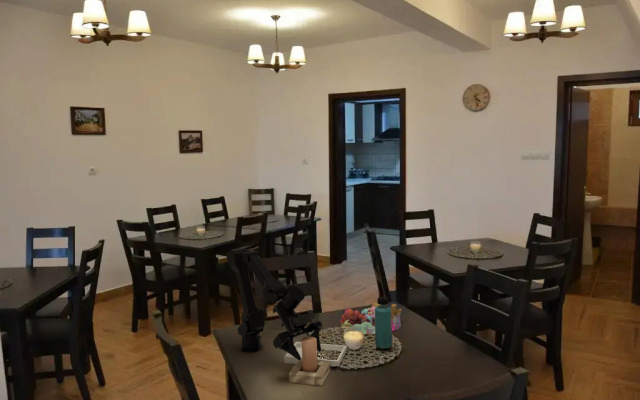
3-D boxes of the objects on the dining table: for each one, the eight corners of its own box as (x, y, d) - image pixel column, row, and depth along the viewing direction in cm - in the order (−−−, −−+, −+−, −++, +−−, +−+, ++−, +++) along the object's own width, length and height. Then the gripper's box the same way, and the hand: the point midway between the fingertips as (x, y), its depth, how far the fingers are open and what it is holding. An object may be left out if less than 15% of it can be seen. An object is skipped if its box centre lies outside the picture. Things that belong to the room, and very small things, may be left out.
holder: (289, 382, 168) (288, 373, 167) (299, 367, 178) (299, 359, 178) (321, 385, 165) (321, 377, 164) (330, 370, 175) (329, 362, 175)
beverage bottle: (391, 352, 189) (391, 300, 187) (374, 351, 190) (373, 300, 188) (392, 345, 195) (392, 295, 193) (375, 344, 197) (374, 294, 194)
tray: (284, 363, 182) (284, 356, 182) (296, 347, 196) (296, 341, 195) (338, 368, 177) (338, 361, 177) (346, 352, 190) (346, 345, 190)
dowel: (300, 379, 170) (299, 341, 168) (305, 372, 174) (304, 336, 173) (315, 380, 168) (314, 343, 167) (319, 373, 173) (318, 337, 172)
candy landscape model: (363, 313, 234) (363, 293, 233) (410, 322, 221) (410, 302, 220) (333, 330, 214) (333, 308, 213) (382, 341, 201) (382, 319, 200)
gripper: (276, 310, 166) (299, 352, 159) (318, 297, 179) (341, 335, 172) (263, 328, 173) (285, 368, 166) (304, 314, 185) (326, 351, 178)
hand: (310, 355), depth 170 cm, fingers open, 9 cm apart
